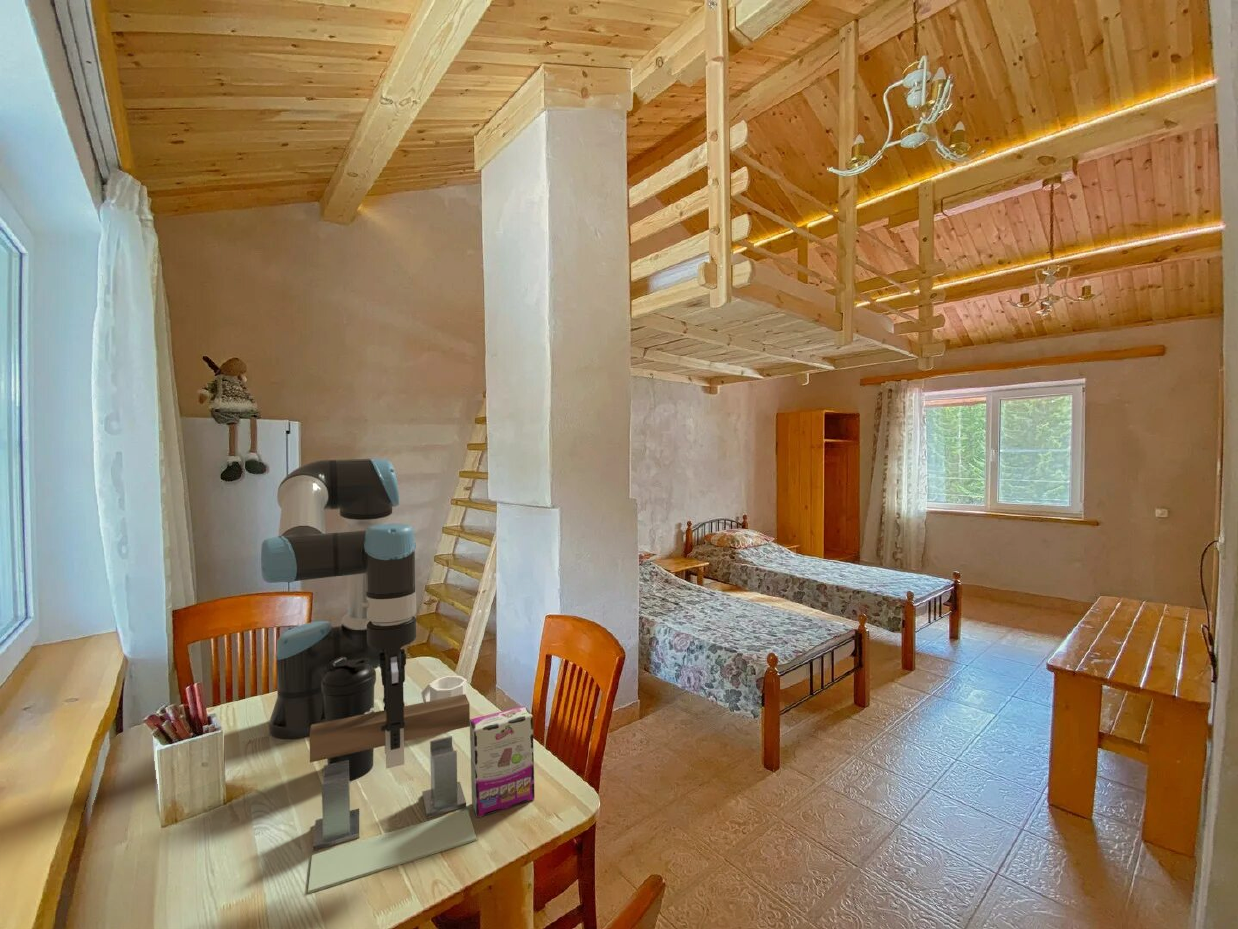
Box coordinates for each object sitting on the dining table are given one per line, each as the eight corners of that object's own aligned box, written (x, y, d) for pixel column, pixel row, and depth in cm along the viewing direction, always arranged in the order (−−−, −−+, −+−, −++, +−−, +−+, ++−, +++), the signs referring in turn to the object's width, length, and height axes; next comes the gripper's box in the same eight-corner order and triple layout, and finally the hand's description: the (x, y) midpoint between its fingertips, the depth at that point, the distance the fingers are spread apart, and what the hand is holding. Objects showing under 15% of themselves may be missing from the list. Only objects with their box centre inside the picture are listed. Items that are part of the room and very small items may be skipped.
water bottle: (356, 787, 106) (353, 672, 106) (311, 781, 108) (308, 668, 108) (388, 758, 116) (385, 653, 115) (346, 752, 118) (344, 649, 118)
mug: (473, 717, 134) (473, 678, 133) (451, 734, 126) (450, 693, 125) (435, 708, 138) (434, 671, 138) (410, 725, 130) (410, 684, 130)
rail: (312, 749, 86) (311, 724, 86) (465, 716, 97) (465, 694, 96) (309, 762, 82) (309, 737, 82) (469, 726, 93) (469, 703, 93)
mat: (312, 857, 88) (312, 855, 88) (467, 811, 99) (467, 809, 99) (308, 893, 81) (308, 891, 81) (476, 840, 92) (476, 838, 92)
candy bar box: (527, 785, 107) (526, 704, 106) (535, 800, 103) (534, 715, 102) (469, 803, 102) (468, 717, 101) (475, 819, 97) (474, 730, 97)
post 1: (315, 824, 96) (314, 766, 96) (359, 812, 99) (358, 756, 99) (312, 851, 90) (311, 789, 89) (359, 837, 93) (358, 777, 92)
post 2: (422, 795, 104) (421, 741, 104) (459, 785, 107) (459, 733, 107) (426, 818, 98) (425, 760, 97) (466, 806, 101) (465, 751, 100)
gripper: (365, 607, 95) (368, 738, 96) (367, 639, 79) (370, 794, 80) (411, 602, 98) (413, 728, 99) (421, 631, 83) (423, 780, 84)
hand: (394, 757), depth 90 cm, fingers closed on rail, 4 cm apart
